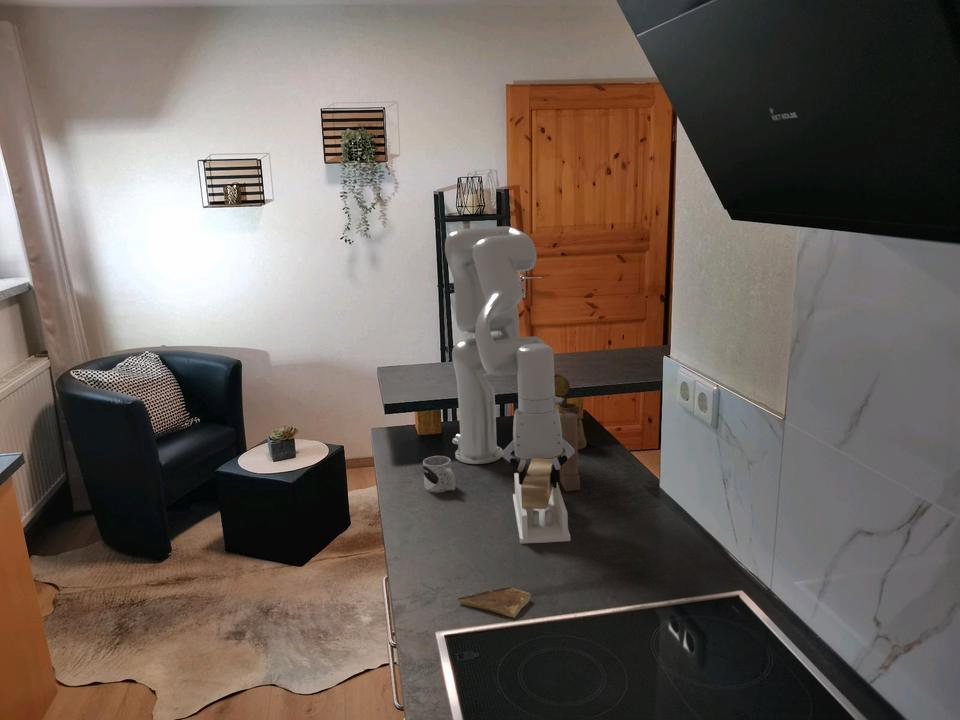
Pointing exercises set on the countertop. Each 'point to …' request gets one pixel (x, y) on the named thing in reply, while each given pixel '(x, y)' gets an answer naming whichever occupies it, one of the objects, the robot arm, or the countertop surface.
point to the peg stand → (541, 518)
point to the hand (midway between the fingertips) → (539, 485)
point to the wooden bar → (537, 484)
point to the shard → (499, 601)
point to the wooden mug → (569, 406)
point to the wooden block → (570, 467)
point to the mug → (438, 474)
